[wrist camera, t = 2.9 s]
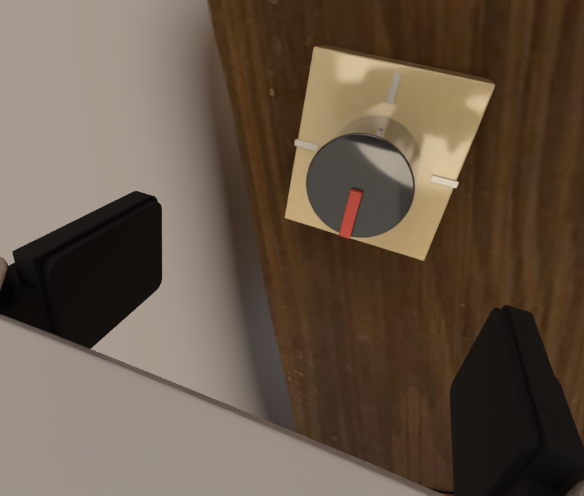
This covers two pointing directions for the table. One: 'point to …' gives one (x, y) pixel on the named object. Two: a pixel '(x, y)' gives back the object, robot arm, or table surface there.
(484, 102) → the tap panel
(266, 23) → the table surface
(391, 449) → the table surface
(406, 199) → the tap knob
